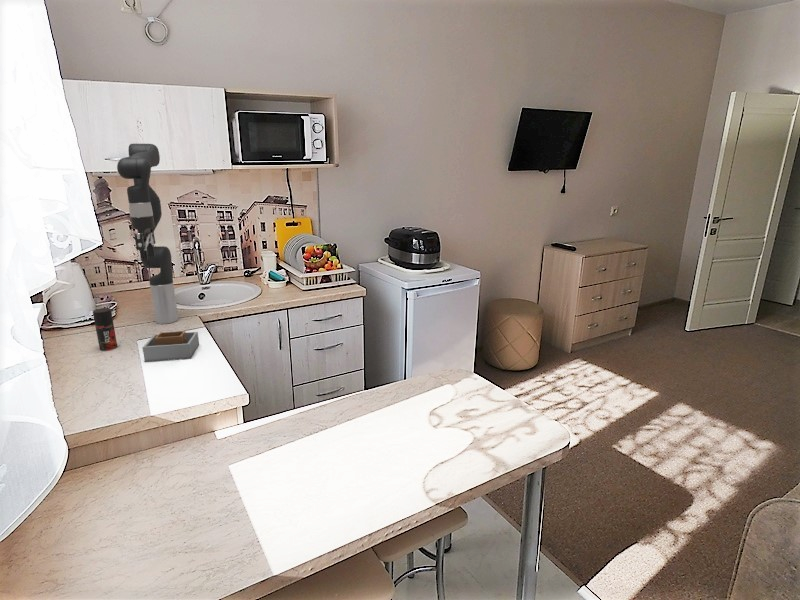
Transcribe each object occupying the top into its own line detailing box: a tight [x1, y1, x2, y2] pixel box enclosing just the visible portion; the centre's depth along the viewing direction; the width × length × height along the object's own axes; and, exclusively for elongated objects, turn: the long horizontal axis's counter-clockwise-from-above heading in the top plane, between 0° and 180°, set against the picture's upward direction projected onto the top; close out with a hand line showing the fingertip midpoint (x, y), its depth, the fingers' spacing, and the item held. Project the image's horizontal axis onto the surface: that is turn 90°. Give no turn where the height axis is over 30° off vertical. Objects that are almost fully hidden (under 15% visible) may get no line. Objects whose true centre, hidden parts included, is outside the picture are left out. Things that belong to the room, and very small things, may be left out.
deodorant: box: [92, 307, 118, 352], centre depth 189 cm, size 6×6×15 cm
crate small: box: [155, 330, 187, 346], centre depth 184 cm, size 6×9×6 cm, turn 99°
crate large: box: [142, 331, 200, 363], centre depth 184 cm, size 14×16×6 cm
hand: (148, 258), depth 188 cm, fingers open, 8 cm apart
